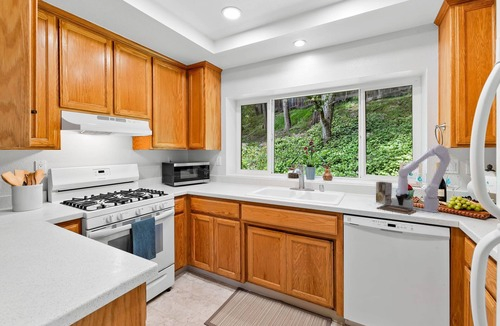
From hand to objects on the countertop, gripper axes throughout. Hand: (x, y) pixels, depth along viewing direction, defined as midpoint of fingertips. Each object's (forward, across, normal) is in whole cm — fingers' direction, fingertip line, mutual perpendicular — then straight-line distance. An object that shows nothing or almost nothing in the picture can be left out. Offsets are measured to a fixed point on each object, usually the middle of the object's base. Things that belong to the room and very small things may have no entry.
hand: (402, 204), depth 170 cm
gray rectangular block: (+2, 0, 0) cm, 2 cm away
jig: (+2, +10, 0) cm, 10 cm away
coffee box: (+2, -5, -15) cm, 16 cm away
